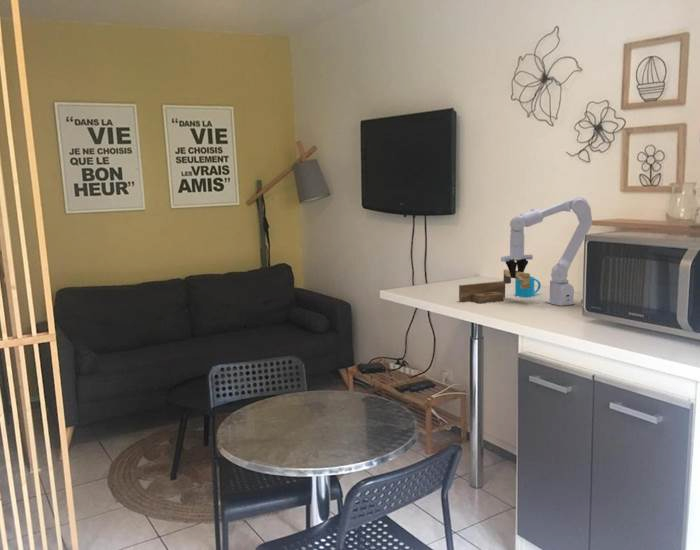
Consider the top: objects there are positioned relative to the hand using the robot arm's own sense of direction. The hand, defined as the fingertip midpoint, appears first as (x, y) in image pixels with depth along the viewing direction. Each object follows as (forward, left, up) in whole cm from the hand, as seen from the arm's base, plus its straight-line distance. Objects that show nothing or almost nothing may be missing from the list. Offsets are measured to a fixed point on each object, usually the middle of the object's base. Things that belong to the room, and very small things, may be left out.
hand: (516, 277), depth 266 cm
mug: (+9, -13, -10) cm, 19 cm away
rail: (0, 0, -3) cm, 4 cm away
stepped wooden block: (+6, +10, -10) cm, 16 cm away
